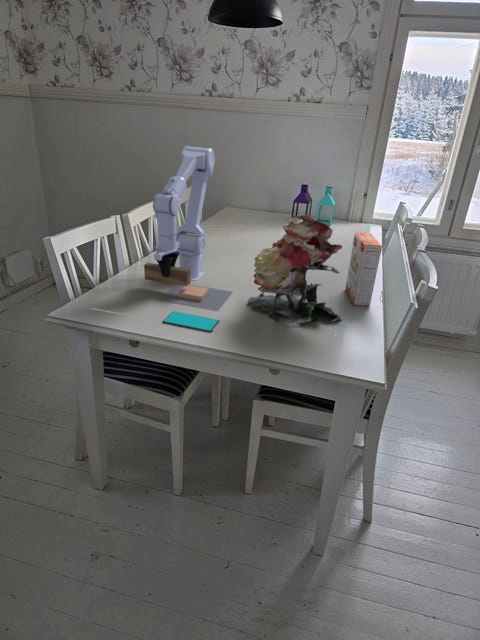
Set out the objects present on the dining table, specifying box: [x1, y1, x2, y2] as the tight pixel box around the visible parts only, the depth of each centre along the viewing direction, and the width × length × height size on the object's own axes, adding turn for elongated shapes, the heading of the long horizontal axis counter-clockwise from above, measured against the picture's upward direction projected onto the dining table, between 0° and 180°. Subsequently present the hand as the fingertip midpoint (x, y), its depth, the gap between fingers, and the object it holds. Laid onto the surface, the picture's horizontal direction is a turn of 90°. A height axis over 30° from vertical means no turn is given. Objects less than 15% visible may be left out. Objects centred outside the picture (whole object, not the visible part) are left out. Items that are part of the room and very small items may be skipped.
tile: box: [178, 284, 209, 301], centre depth 138 cm, size 7×2×8 cm
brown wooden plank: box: [143, 262, 191, 286], centre depth 138 cm, size 2×15×5 cm, turn 74°
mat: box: [157, 284, 234, 312], centre depth 138 cm, size 16×20×1 cm
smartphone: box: [162, 311, 221, 333], centre depth 122 cm, size 7×1×15 cm
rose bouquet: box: [246, 213, 358, 328], centre depth 127 cm, size 26×29×30 cm
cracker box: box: [344, 232, 383, 307], centre depth 141 cm, size 14×6×21 cm, turn 178°
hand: (167, 274), depth 138 cm, fingers closed on brown wooden plank, 2 cm apart
